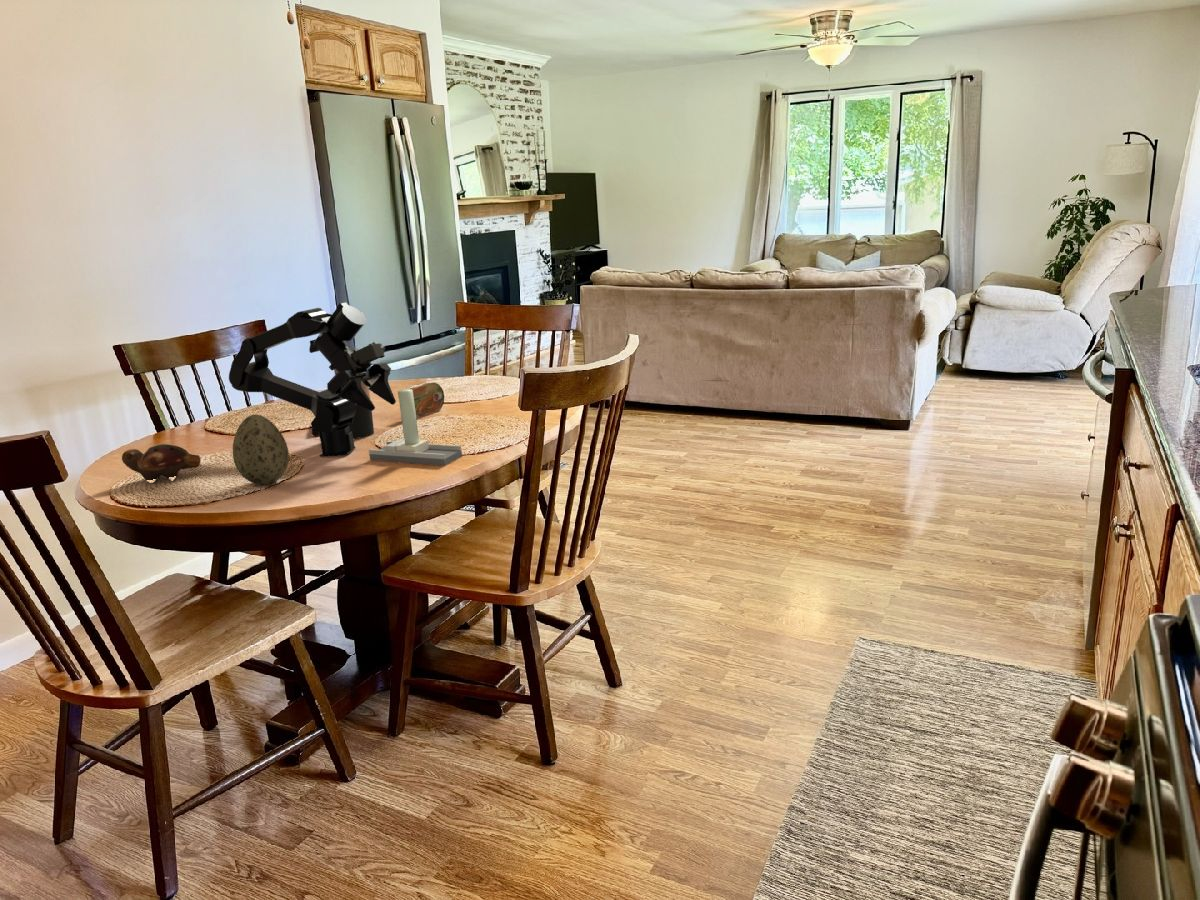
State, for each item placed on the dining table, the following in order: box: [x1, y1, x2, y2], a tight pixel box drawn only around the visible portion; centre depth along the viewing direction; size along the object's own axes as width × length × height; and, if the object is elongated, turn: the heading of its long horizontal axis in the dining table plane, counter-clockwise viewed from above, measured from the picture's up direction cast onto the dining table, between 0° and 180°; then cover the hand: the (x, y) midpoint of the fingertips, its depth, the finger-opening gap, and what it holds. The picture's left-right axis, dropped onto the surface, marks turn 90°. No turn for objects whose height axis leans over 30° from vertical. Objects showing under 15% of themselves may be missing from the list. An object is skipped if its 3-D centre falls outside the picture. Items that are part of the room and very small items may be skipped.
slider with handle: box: [396, 388, 430, 453], centre depth 184 cm, size 5×5×14 cm
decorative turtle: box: [121, 443, 201, 481], centre depth 182 cm, size 10×15×8 cm, turn 120°
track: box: [368, 438, 463, 467], centre depth 185 cm, size 20×7×4 cm, turn 67°
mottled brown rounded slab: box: [408, 381, 445, 420], centre depth 225 cm, size 15×3×8 cm, turn 148°
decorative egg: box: [232, 414, 290, 485], centre depth 173 cm, size 11×11×15 cm
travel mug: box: [333, 370, 375, 439], centre depth 207 cm, size 8×8×20 cm
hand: (384, 406), depth 186 cm, fingers open, 9 cm apart
